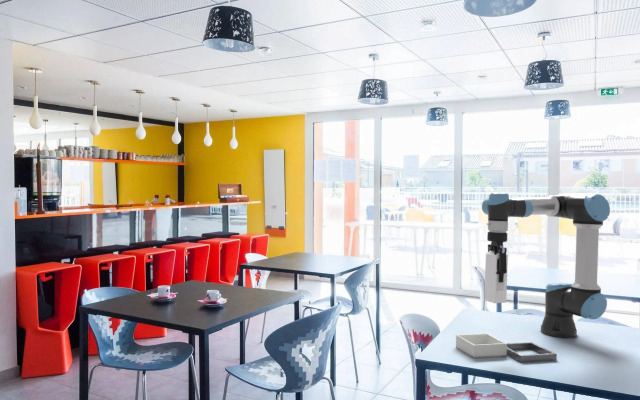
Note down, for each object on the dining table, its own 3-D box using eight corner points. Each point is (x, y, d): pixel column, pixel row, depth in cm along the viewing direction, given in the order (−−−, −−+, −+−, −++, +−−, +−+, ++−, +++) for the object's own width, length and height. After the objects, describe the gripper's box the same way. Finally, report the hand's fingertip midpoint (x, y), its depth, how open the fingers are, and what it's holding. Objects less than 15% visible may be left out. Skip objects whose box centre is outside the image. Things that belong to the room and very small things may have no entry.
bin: (486, 345, 212) (487, 333, 212) (506, 356, 198) (506, 343, 198) (455, 347, 209) (456, 335, 209) (473, 358, 195) (473, 345, 195)
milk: (495, 303, 198) (496, 247, 198) (483, 300, 203) (485, 245, 203) (506, 302, 200) (508, 247, 200) (495, 299, 206) (497, 245, 206)
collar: (531, 348, 209) (531, 342, 209) (556, 360, 194) (556, 353, 194) (497, 349, 206) (497, 343, 206) (520, 362, 191) (521, 355, 191)
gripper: (479, 229, 212) (477, 283, 212) (498, 233, 191) (496, 293, 191) (496, 230, 212) (495, 284, 212) (517, 233, 191) (515, 293, 192)
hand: (495, 288), depth 202 cm, fingers closed on milk, 8 cm apart
